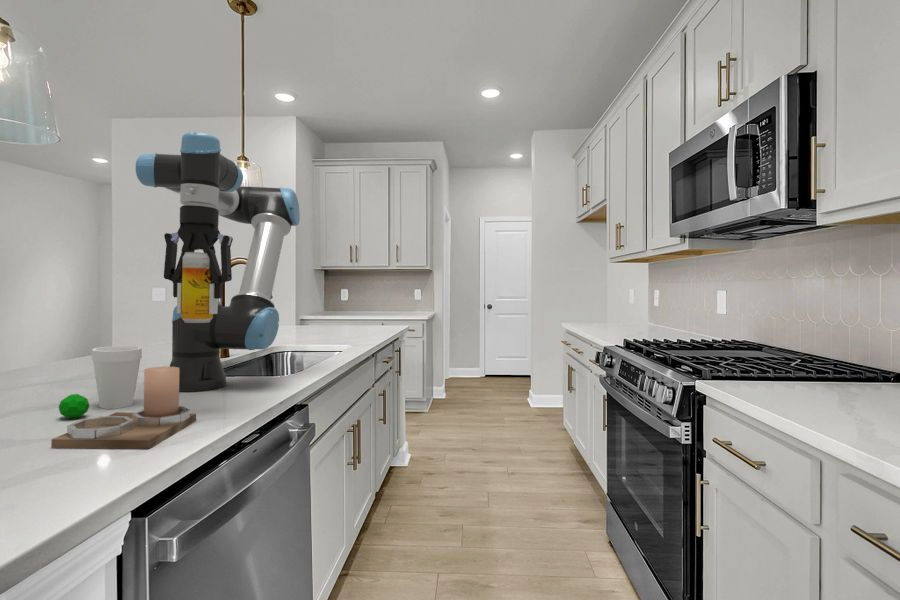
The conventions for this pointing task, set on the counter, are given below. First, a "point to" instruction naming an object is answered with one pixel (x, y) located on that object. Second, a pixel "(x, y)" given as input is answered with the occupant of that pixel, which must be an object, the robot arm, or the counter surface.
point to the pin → (161, 391)
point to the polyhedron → (73, 406)
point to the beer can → (196, 287)
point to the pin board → (125, 436)
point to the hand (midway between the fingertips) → (197, 313)
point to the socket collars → (121, 424)
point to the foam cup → (116, 374)
